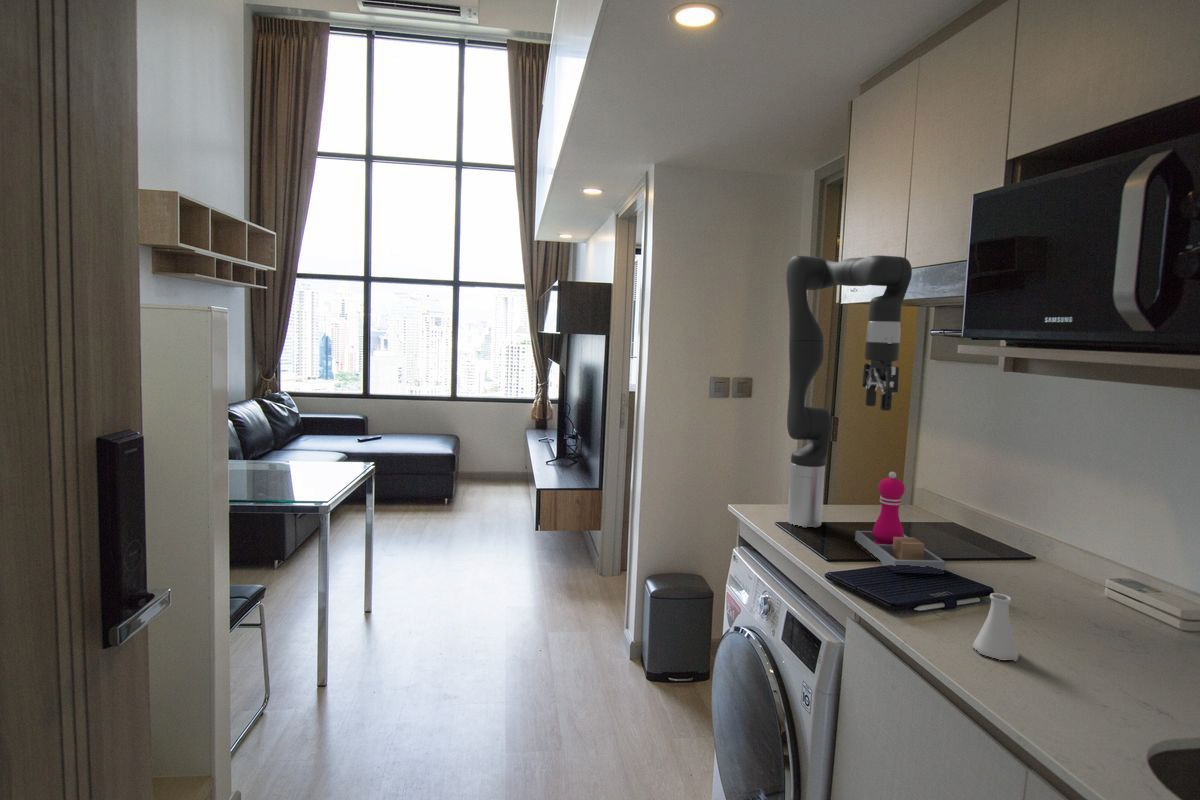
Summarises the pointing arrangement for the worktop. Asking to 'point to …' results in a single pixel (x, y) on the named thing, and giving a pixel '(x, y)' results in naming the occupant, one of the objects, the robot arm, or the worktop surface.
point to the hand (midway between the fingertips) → (877, 408)
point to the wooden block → (907, 548)
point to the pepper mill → (889, 511)
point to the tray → (885, 552)
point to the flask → (997, 631)
